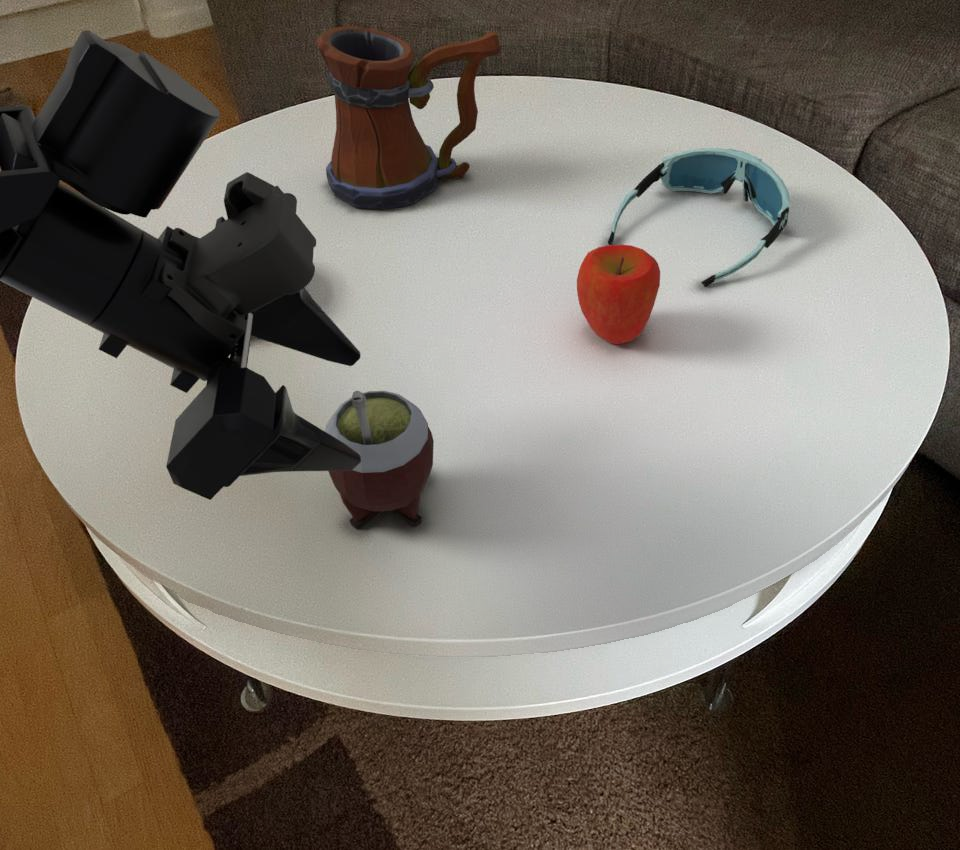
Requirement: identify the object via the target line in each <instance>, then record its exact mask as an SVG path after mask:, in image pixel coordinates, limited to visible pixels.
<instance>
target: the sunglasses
mask: <svg viewBox="0 0 960 850" xmlns="http://www.w3.org/2000/svg"><path fill="white" fill-rule="evenodd" d="M661 161H662V162H661V163H660V164H658V165H657V166H656V167H655V168H654V169H653V170H652V171H650V172H649V173H648V174H646V176H644V178H642V180H641V181H640V182H639V183H638V184H637V185H636V186H635V187H634V188H633V189H632V190H631V191H630V192H628V193H627V194H625V196H624V198H623V200H622V202H621V203H620V205H619V207H618V209H617V211H616V212H615V215H614V218H613V221H612V224H611V232H610V235H609V237H608V240H607V244H608V246H609V245H613V242H614V240H615V235H616V231H617V227H618V223H619V221H620V219H621V217H622V215H623V213H624V211H625V210H626V208H627V207H628V205H629V204H630V203H632V202H633V201H635V199H636V198H640V197H641V196H642V195H643V194H644V193H645V192H646V191H647V190H648V189H649V188H650V187H651V186H652V185H653V184H654V183H656V182H658V181H660V180H661V185H662V186H663V187H664V188H666V189H667V190H668V191H681V192H682V191H683V192H684V191H685V192H695V193H704V194H715V193H716V194H717V193H721V192H722V194H724V195H725V194H728V192H729V191H730V189H731V188H732V186H733V184H734V183H735V182H736V181H737V182H740V183H742V195H743V201H744V202H745V203H748V202H749V201H750V202H751V203H752V205H753V206H754V208H755V209H756V210H757V211H758V212H759V213H760V214H761V215H763V217H765V218H766V219H767V220H769V222H770V223H771V224H772V227H771V229H770V231H768V233H767V234H766V235H764V237H762V238H760V240H759V242H758V244H757V246H756V248H754V249H753V250H752V251H750V252H749V253H748V254H747V255H746V256H744V257H743V258H742V259H741V260H739V261H738V262H737V263H735V264H733V265H731V266H730V267H728V268H726V269H724V270H722V271H719V272H717V273H715V274H713V275H710V276H709V277H707V278H706V279H704V280H702V281H700V283H701V284H702V285H703V286H704V287H708V286H710V285H711V284H713V283H715V282H717V281H719V280H721V279H724V278H726V277H728V276H730V275H732V274H734V273H736V272H738V271H739V270H741V269H743V268H744V267H746V266H747V265H748V264H750V263H751V262H752V261H754V260H755V259H757V258H758V256H759V255H760V254H761V252H762V251H763V249H764V248H766V249H768V248H769V247H770V246H771V245H772V244H773V243H774V242H775V241H776V240H777V238H778V237H779V235H780V234H781V233H782V232H785V230H786V227H787V226H788V223H789V214H790V208H791V204H792V203H791V196H790V192H789V190H788V188H787V186H786V184H785V182H784V180H783V179H782V178H781V177H780V175H778V174H777V172H776V171H775V170H774V169H773V168H772V166H770V165H768V164H767V163H766V162H764V161H763V160H762V158H760V157H757V156H755V155H753V154H750V153H748V152H745V151H743V150H738V149H733V148H721V147H707V148H695V149H690V150H685V151H681V152H677V153H673V154H671V155H669V156H667V157H665V158H662V159H661Z"/></svg>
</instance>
